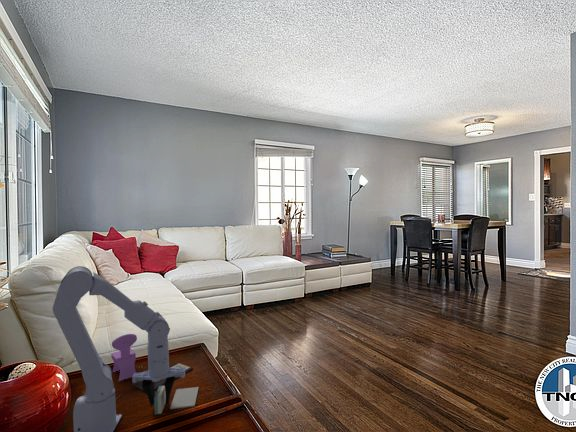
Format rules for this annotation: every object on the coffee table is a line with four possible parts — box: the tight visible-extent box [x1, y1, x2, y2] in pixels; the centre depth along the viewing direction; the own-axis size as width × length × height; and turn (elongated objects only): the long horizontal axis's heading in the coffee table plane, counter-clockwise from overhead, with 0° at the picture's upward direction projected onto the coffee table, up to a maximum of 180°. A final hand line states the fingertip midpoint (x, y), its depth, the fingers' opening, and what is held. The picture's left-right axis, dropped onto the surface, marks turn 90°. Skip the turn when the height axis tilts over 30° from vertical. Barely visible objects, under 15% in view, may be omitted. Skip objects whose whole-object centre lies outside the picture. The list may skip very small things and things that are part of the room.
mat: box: [169, 386, 200, 410], centre depth 100 cm, size 7×10×1 cm
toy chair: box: [110, 333, 138, 382], centre depth 116 cm, size 8×9×15 cm
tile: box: [153, 385, 166, 415], centre depth 96 cm, size 2×6×5 cm, turn 9°
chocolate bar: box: [131, 362, 194, 393], centre depth 113 cm, size 9×1×18 cm
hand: (160, 402), depth 96 cm, fingers open, 4 cm apart
